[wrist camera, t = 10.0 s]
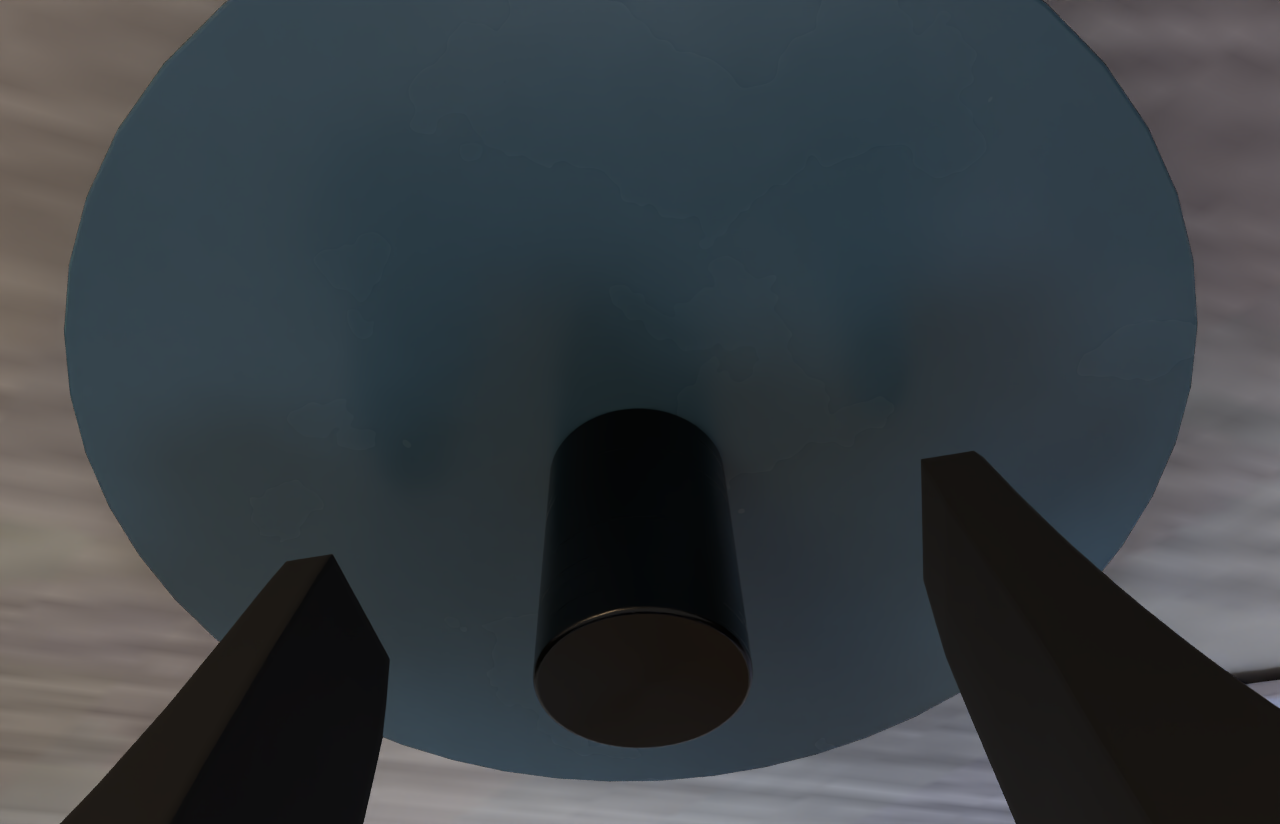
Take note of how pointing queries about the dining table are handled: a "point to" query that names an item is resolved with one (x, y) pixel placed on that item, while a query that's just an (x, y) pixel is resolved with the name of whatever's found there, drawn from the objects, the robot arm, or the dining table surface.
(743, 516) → the lid
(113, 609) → the dining table surface
